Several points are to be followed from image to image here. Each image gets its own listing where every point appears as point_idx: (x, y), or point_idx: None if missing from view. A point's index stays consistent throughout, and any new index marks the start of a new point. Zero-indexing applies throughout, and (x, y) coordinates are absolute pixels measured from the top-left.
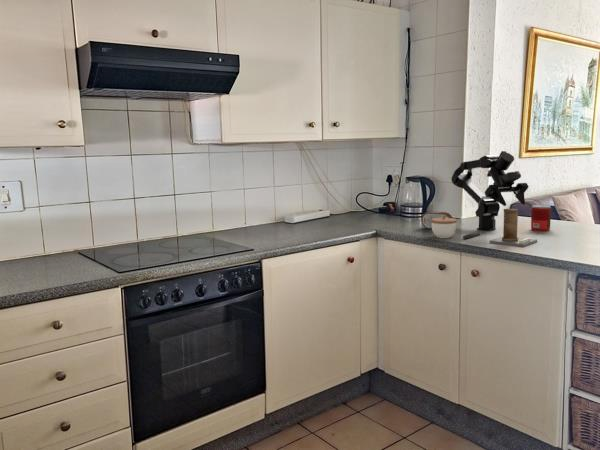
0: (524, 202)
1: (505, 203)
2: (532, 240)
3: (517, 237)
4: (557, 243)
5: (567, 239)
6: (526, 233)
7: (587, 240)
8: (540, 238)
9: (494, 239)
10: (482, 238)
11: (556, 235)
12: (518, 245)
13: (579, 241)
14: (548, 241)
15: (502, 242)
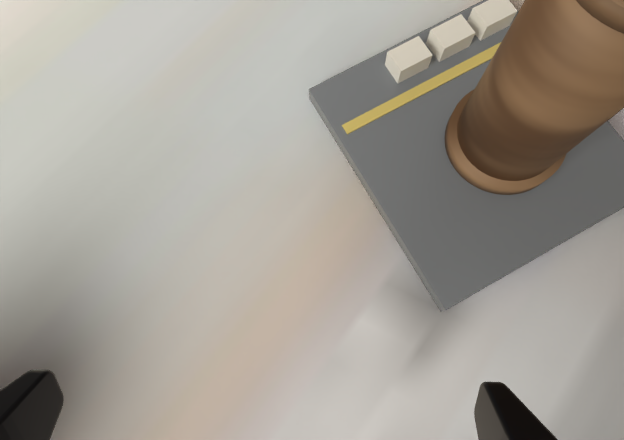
0: (25, 381)
1: (506, 398)
2: (364, 72)
3: (450, 119)
4: (234, 17)
5: (76, 92)
6: (123, 426)
7: (7, 24)
8: (197, 191)
9: (600, 209)
10: (609, 388)
11: (7, 240)
12: None
13: (73, 17)
14: (233, 85)
15: None
